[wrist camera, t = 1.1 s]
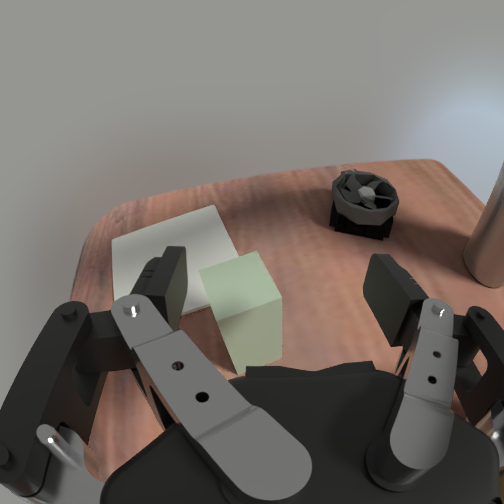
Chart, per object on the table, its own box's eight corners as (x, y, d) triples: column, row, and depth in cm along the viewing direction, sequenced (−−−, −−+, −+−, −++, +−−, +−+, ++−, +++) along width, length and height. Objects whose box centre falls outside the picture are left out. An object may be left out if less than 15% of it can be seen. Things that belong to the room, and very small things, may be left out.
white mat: (214, 207, 48) (214, 204, 47) (254, 290, 36) (253, 287, 36) (113, 242, 45) (111, 239, 44) (119, 336, 33) (117, 333, 32)
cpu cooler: (400, 217, 35) (327, 202, 38) (390, 246, 39) (324, 233, 42) (397, 176, 41) (336, 164, 44) (390, 203, 46) (333, 192, 48)
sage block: (264, 321, 33) (256, 250, 24) (281, 358, 30) (281, 297, 21) (223, 336, 32) (198, 270, 23) (238, 374, 29) (216, 321, 20)
